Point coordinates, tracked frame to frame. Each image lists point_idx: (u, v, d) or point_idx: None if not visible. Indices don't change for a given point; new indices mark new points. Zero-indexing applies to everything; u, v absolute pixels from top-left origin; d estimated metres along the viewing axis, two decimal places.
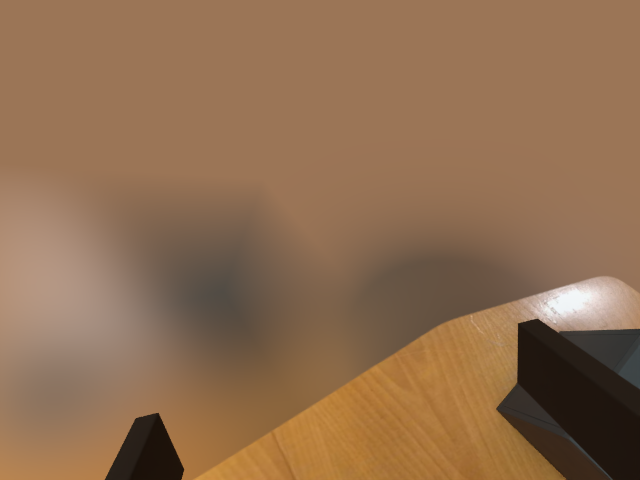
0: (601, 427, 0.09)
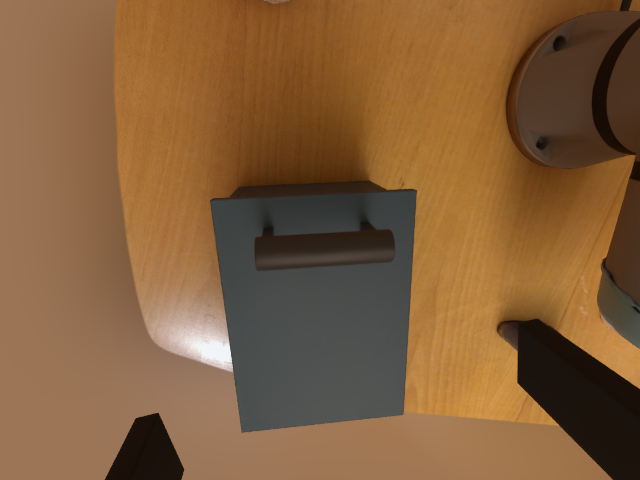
0: (601, 427, 0.09)
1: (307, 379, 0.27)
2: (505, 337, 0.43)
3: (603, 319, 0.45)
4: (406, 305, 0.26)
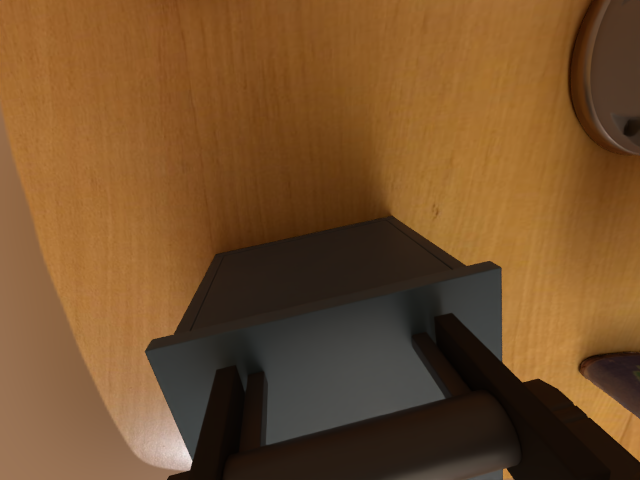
0: None
1: None
2: (594, 381, 0.33)
3: None
4: None
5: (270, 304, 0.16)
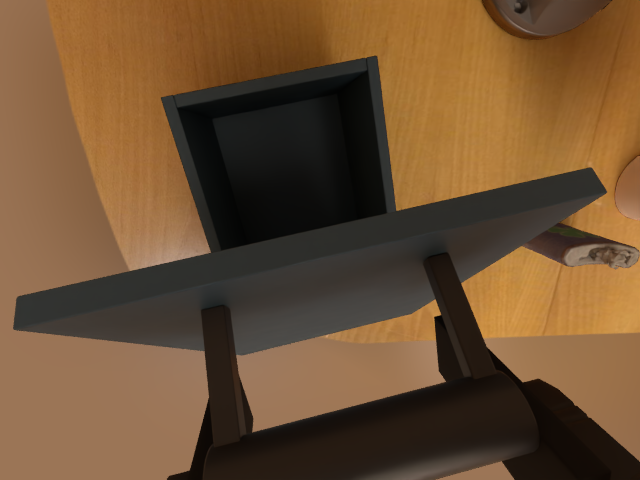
0: None
1: (309, 332, 0.22)
2: None
3: (619, 207, 0.42)
4: None
5: None
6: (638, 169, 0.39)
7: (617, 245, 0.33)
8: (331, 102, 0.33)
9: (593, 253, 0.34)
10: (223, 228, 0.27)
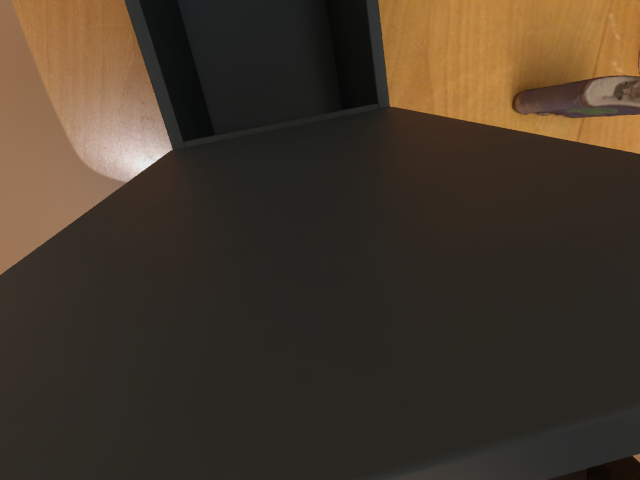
0: None
1: None
2: (524, 104, 0.34)
3: None
4: None
5: None
6: None
7: None
8: None
9: (619, 94, 0.28)
10: None
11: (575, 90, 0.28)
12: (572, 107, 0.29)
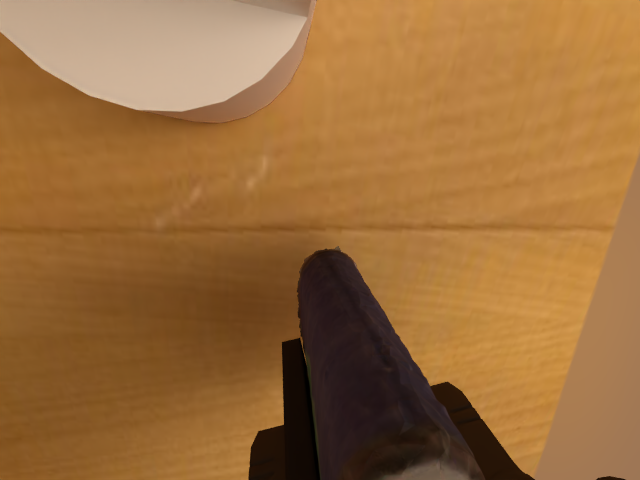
0: None
1: None
2: None
3: (272, 99, 0.14)
4: None
5: None
6: None
7: None
8: None
9: None
10: None
11: None
12: None
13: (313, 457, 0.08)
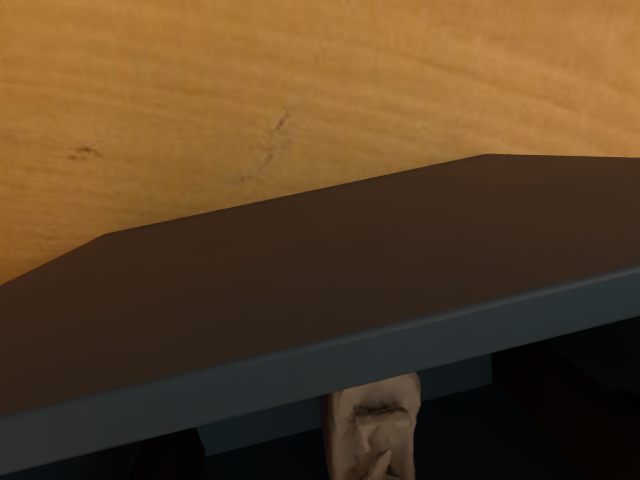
0: (563, 418, 0.09)
1: None
2: None
3: None
4: None
5: None
6: None
7: (336, 467, 0.09)
8: None
9: None
10: None
11: None
12: None
13: None
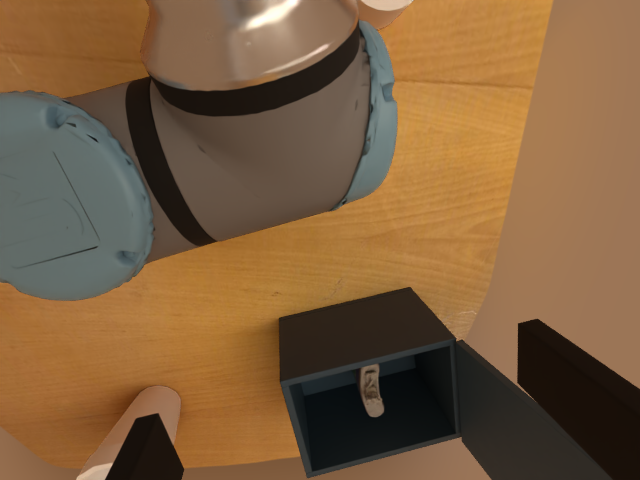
0: (601, 427, 0.09)
1: None
2: None
3: (393, 20, 0.36)
4: None
5: None
6: None
7: (361, 384, 0.39)
8: None
9: None
10: (379, 432, 0.41)
11: None
12: None
13: None
